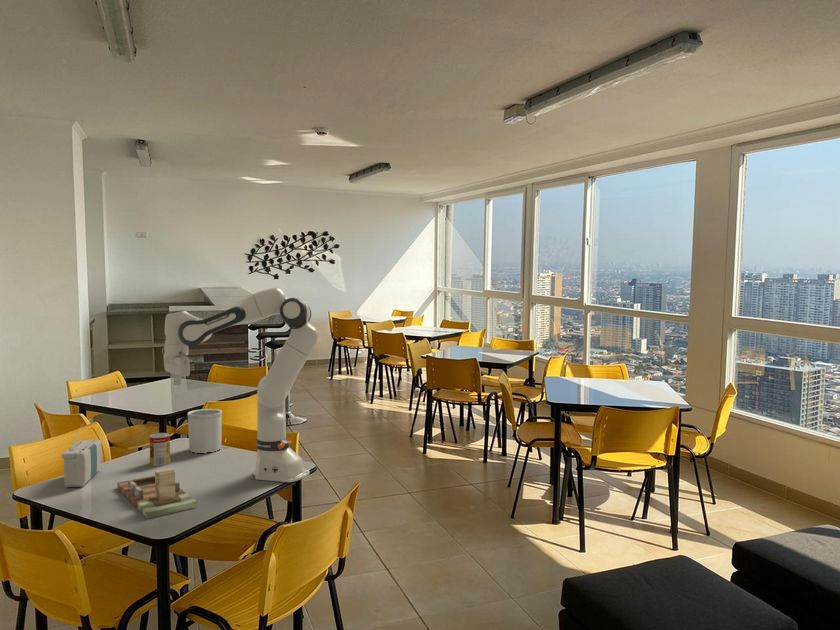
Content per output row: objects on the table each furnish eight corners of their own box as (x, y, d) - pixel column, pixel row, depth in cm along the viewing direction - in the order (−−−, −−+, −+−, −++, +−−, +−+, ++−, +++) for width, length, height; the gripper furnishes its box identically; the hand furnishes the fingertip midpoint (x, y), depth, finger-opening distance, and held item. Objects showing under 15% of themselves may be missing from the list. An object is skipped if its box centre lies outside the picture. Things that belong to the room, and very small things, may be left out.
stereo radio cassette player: (85, 488, 223) (84, 434, 222) (60, 489, 221) (59, 435, 220) (103, 470, 243) (102, 421, 242) (80, 471, 242) (80, 422, 241)
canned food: (168, 459, 259) (167, 432, 259) (171, 464, 253) (171, 436, 252) (148, 462, 255) (148, 434, 254) (151, 467, 249) (151, 438, 248)
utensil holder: (184, 448, 277) (183, 410, 276) (216, 443, 285) (216, 407, 284) (192, 456, 265) (192, 416, 264) (226, 451, 273) (226, 412, 272)
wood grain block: (149, 498, 207) (149, 470, 206) (173, 493, 212) (173, 466, 211) (156, 505, 201) (156, 476, 200) (181, 500, 206) (181, 472, 205)
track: (117, 487, 223) (117, 474, 223) (162, 479, 234) (162, 466, 234) (147, 518, 195) (147, 503, 195) (197, 507, 206) (196, 492, 205)
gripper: (193, 352, 236) (194, 387, 237) (176, 348, 252) (176, 380, 253) (177, 353, 232) (177, 389, 233) (160, 349, 248) (161, 382, 248)
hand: (177, 384), depth 243 cm, fingers closed
